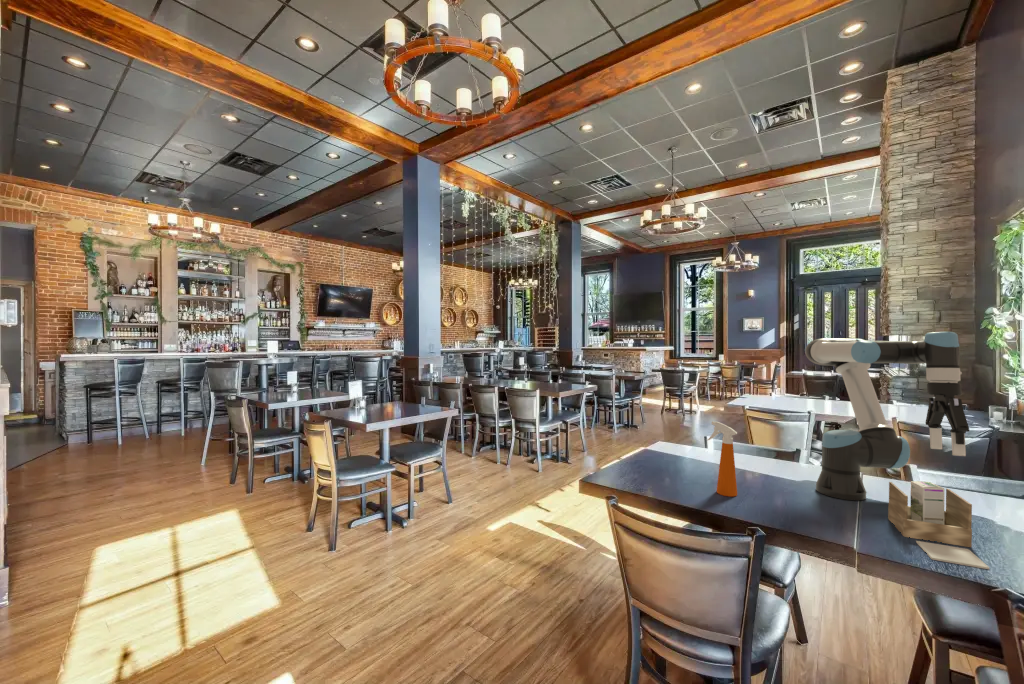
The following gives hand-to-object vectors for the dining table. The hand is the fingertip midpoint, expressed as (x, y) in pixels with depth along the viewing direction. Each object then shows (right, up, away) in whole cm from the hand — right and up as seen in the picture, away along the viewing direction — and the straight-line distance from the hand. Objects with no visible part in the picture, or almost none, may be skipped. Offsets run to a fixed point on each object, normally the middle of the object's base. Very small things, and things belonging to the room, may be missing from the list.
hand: (947, 452), depth 135 cm
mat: (-15, -24, -16) cm, 32 cm away
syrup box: (-8, -24, -2) cm, 25 cm away
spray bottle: (-54, -23, +31) cm, 66 cm away
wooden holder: (-8, -24, -2) cm, 25 cm away
